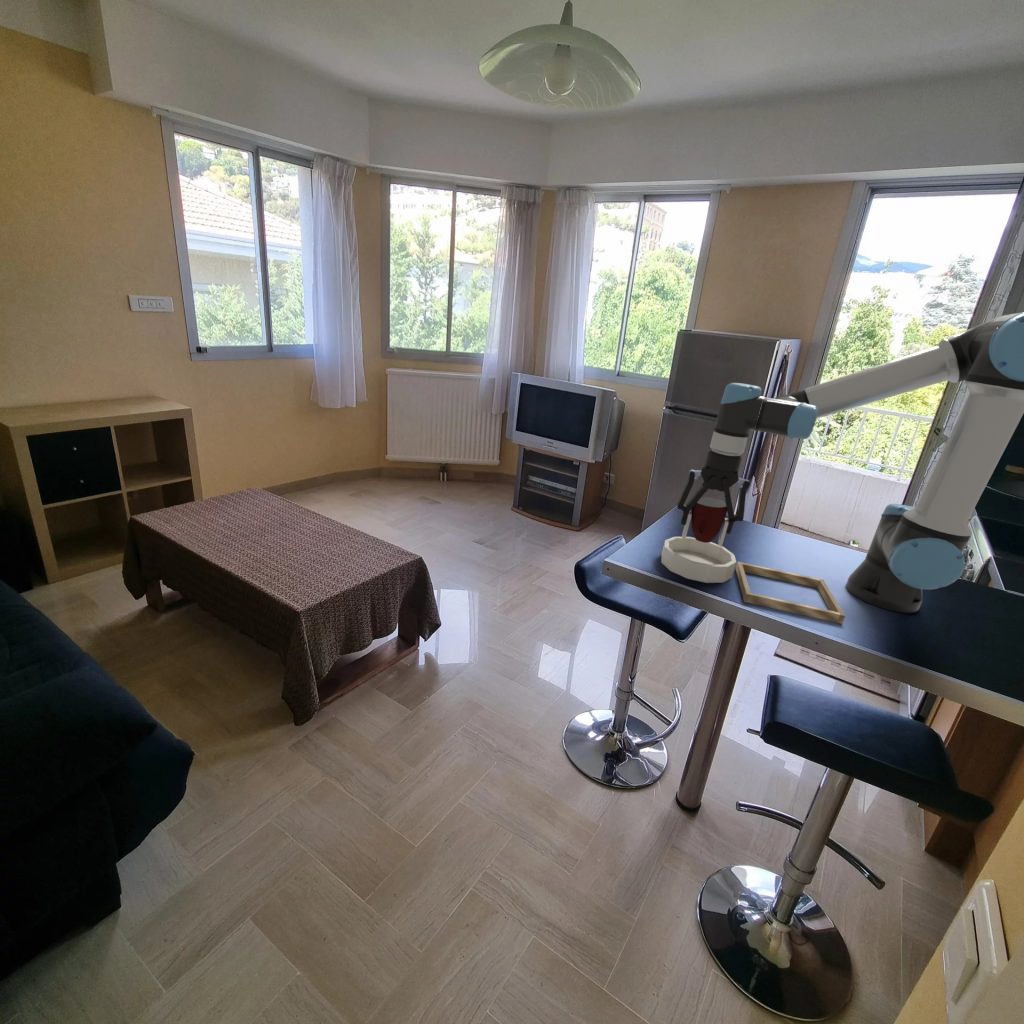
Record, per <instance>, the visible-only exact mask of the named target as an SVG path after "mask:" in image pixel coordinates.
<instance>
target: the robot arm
mask: <svg viewBox="0 0 1024 1024" xmlns="http://www.w3.org/2000/svg"><path fill="white" fill-rule="evenodd" d="M946 381H947V382H950V383H953V384H956V383H960V382H962V381H963V382H964V384H965V386H966V387H967V389H968V391H969V394H968V396H967V398H966V401H965V403H964V405H963V407H962V409H961V411H960V413H959V415H958V418H957V420H956V422H955V424H954V426H953V428H952V430H951V432H950V434H949V437H948V439H947V440H946V443H945V445H944V446H943V449H942V452H941V453H940V456H939V458H938V460H937V462H936V464H935V467H934V468H933V470H932V472H931V475H930V477H929V479H928V480H927V483H926V486H925V487H924V489H923V490H922V491H923V492H922V494H921V496H920V498H919V499H918V502H917V504H916V506H912V505H911V506H910V505H905V504H899V503H890V504H888V505H886V507H885V508H884V510H883V512H882V513H881V515H880V516H881V517H880V518H879V519H880V520H879V523H878V525H877V527H876V529H875V530H876V531H875V532H874V535H873V538H872V540H871V543H870V545H869V548H868V550H867V553H866V556H865V558H864V559H863V561H862V562H861V563H860V564H859V566H857V568H856V569H854V571H853V572H852V573H851V574H850V575H849V577H848V579H847V581H846V584H845V587H846V589H847V590H848V592H850V593H851V594H852V595H853V596H855V597H857V598H858V599H860V600H862V601H864V602H866V603H867V604H871V605H873V606H876V607H878V608H881V609H885V610H888V611H892V612H897V613H902V614H903V613H905V614H911V613H916V612H918V611H919V609H920V607H921V606H922V603H923V590H937V589H940V588H944V587H947V586H950V585H952V584H953V583H955V582H956V581H957V580H958V579H959V578H960V577H961V576H962V574H963V573H964V569H965V565H966V564H965V559H966V558H965V557H964V554H963V552H964V550H965V548H966V547H967V545H968V543H969V540H970V539H971V537H972V535H973V531H972V529H971V527H970V526H969V524H968V521H969V519H970V518H971V516H972V514H973V512H974V510H975V508H976V506H977V504H978V502H979V500H980V498H981V496H982V494H983V492H985V489H986V487H987V485H988V482H990V481H989V480H990V479H991V477H992V475H993V474H994V471H995V469H996V467H997V465H998V463H999V461H1000V459H1001V457H1002V456H1003V453H1004V452H1005V450H1006V448H1007V446H1008V444H1009V442H1010V441H1011V438H1012V437H1013V435H1014V433H1015V430H1016V429H1017V427H1018V425H1019V423H1020V421H1021V419H1022V417H1023V416H1024V311H1021V312H1016V313H1009V314H1004V315H1001V316H997V317H994V318H992V319H990V320H988V321H987V320H986V321H985V322H983V323H981V324H978V325H976V326H973V327H970V328H969V329H967V330H963V331H962V332H958V333H956V334H953V335H951V336H947V337H945V338H942V339H941V340H940V341H939V342H938V344H936V345H935V346H932V347H930V348H926V349H924V350H920V351H918V352H913V353H911V354H908V355H905V356H902V357H901V356H900V357H899V358H895V359H892V360H889V361H886V362H883V363H881V364H878V365H874V366H871V367H867V368H865V369H862V370H858V371H855V372H853V373H850V374H846V375H844V376H840V377H837V378H833V379H831V380H829V381H828V380H827V381H826V382H823V383H819V384H815V385H813V386H810V387H807V388H804V389H801V390H798V391H794V392H793V393H792V392H791V393H789V394H786V393H785V394H781V395H779V396H776V397H775V398H772V397H767V396H763V395H762V388H761V386H758V385H753V384H749V383H748V384H747V383H742V382H741V383H740V382H730V383H729V384H726V386H725V388H724V392H723V395H722V398H721V401H720V405H719V408H718V413H717V416H716V421H715V425H714V429H713V432H712V433H713V434H712V435H711V436H712V437H711V440H710V443H709V444H710V445H709V447H710V449H709V450H708V451H707V456H706V459H705V464H704V466H703V467H702V468H701V469H700V470H698V469H697V470H695V469H693V468H691V469H689V471H688V479H687V480H686V481H687V482H686V484H685V486H684V488H683V490H682V492H681V495H680V497H679V500H678V501H677V504H676V505H677V509H679V510H681V511H682V514H681V515H682V516H681V519H680V524H681V525H684V527H683V531H682V533H681V537H682V538H683V539H686V537H687V535H688V531H689V527H690V524H691V516H692V508H693V507H694V506H695V504H696V503H697V502H698V501H699V499H700V498H701V497H704V494H705V493H707V491H708V490H711V491H714V490H716V491H718V492H723V494H724V496H723V497H724V500H725V502H726V506H727V518H726V517H725V519H724V522H723V524H722V526H721V529H720V531H719V537H718V540H717V545H718V546H721V547H723V544H724V540H725V536H726V534H728V535H730V534H731V532H732V531H733V530H732V529H733V527H734V523H735V522H738V521H739V522H743V520H744V517H745V508H746V507H745V506H746V495H747V491H748V488H749V487H750V485H751V484H750V480H749V479H747V478H741V477H740V476H739V471H740V467H741V462H742V459H743V456H742V454H744V453H745V449H746V445H747V441H748V437H749V435H750V431H755V432H763V433H767V434H772V435H776V436H783V437H788V438H790V439H798V440H799V439H800V440H807V439H808V438H809V437H811V435H812V433H813V429H814V427H815V424H816V421H817V419H820V418H823V417H826V416H830V415H833V414H836V413H840V412H844V411H847V410H850V409H854V408H858V407H861V406H865V405H867V404H870V403H875V402H877V401H878V402H879V401H881V400H885V399H889V398H892V397H895V396H897V395H902V394H905V393H909V392H912V391H915V390H920V389H922V388H925V387H930V386H932V385H936V384H940V383H943V382H946ZM699 476H701V478H702V480H703V482H702V483H701V485H700V487H699V488H698V489H697V490H696V492H695V493H694V494H693V495H692V497H691V498H690V499H689V501H688V502H687V503H686V501H687V499H688V496H689V493H690V492H691V490H692V488H693V485H694V483H695V481H696V480H698V478H699ZM736 483H737V486H738V488H739V489H738V499H737V509H736V514H734V509H733V503H732V496H731V492H730V491H731V490H730V488H731V487H733V486H734V484H736ZM685 503H686V504H685Z"/></svg>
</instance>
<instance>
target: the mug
mask: <svg viewBox="0 0 1024 1024" xmlns="http://www.w3.org/2000/svg"><path fill="white" fill-rule="evenodd" d="M691 511H692V516H691V520H690V524H691V525H690V526H691V530H692V531H691V532H692V534H693V538H695V539H696V540H697V541H700V542H705V543H709V542H712V541H713V540H714V539H715V538H716V537H717V536H718V535H719V534H720V532H721V529H722V525H723V522H724V519H725V518H726V517H727V514H728V512H727V506H726V501H724V500H722V499H719V498H716V497H711V496H702V497H701V498H700V499H699V501H698V502H697V503H696V504H695V506H694V507H693V508H692V509H691Z"/></svg>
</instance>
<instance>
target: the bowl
mask: <svg viewBox="0 0 1024 1024" xmlns="http://www.w3.org/2000/svg"><path fill="white" fill-rule="evenodd" d="M662 547H663V548H662V551H661V557H660V560H661V561H660V563H661V564H662V565H663V566H665V567H666V568H667V569H668V571H670V572H671V573H674V574H676V575H679V576H681V577H683V578H685V579H688V580H692V581H697V582H701V583H706V584H710V583H711V584H715V583H721V584H722V583H725V582H727V581H728V580H730V579H732V578H733V574H734V572H735V568H736V565H737V560H736V559H737V558H736V557H735V553H733V552H731V551H730V550H729V549H727V548H726V547H724V546H722V547H721V546H718V543H715V542H712V541H711V542H709V543H705V542H700V541H697V540H696V539H695V537H694V536H693V537H692V536H686V539H683V538H682V536H672V537H670V538H668V539H664V543H663V546H662Z"/></svg>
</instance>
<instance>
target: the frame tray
mask: <svg viewBox="0 0 1024 1024" xmlns="http://www.w3.org/2000/svg"><path fill="white" fill-rule="evenodd" d="M734 570H735V571H736V577H737V579H738V584H739V587H740V592H741V596H742V599H743V602H745V603H749V604H753V605H758V606H761V607H762V606H763V607H766V608H771V609H775V610H779V611H784V612H788V613H793V614H797V615H802V616H805V617H806V616H807V617H810V618H813V619H814V618H815V619H819V620H823V621H827V622H828V621H829V622H832V623H836V624H841V625H843V623H844V621H845V618H846V614H845V613H844V611H843V609H842V608H841V606H840V605H839V603H838V601H837V600H836V598H835V597H834V595H833V593H832V591H831V590H830V588H829V586H828V585H827V583H826V582H825V580H824V579H822V578H819V577H818V578H817V577H812V576H807V575H803V574H798V573H793V572H789V571H784V570H778V569H774V568H769V567H766V566H762V565H761V566H760V565H756V564H751V563H745V562H742V561H736V565H735V568H734ZM746 573H747V574H752V575H757V576H762V577H767V578H771V579H775V580H779V581H785V582H790V583H794V584H798V585H802V586H808V587H813V588H816V589H817V590H818V592H819V593H820V595H821V597H822V598H823V600H824V602H825V604H826V606H827V607H828V609H825V608H820V607H816V606H811V605H806V604H804V603H803V604H802V603H799V602H798V603H797V602H793V601H788V600H785V599H781V598H777V597H771V596H768V595H763V594H758V593H753V592H751V589H750V586H749V583H748V580H747V576H746Z"/></svg>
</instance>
